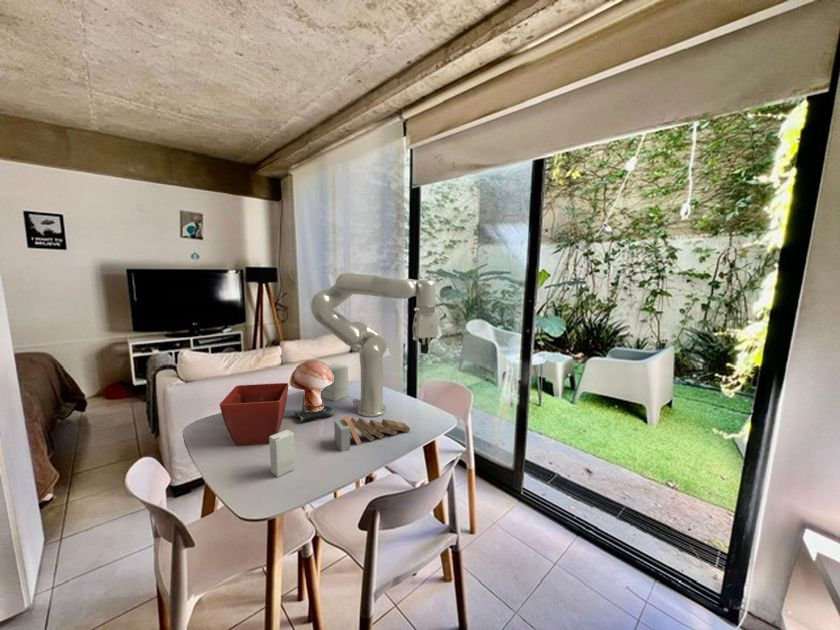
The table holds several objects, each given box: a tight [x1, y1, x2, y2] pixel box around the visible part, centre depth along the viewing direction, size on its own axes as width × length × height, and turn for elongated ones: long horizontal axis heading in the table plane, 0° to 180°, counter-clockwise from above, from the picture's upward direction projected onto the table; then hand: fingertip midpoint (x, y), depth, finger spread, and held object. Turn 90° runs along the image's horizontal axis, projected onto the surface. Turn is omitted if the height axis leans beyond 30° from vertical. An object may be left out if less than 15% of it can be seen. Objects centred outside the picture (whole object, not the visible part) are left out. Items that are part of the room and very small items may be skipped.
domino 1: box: [350, 417, 375, 443], centre depth 125 cm, size 2×5×10 cm
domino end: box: [342, 414, 362, 446], centre depth 123 cm, size 2×5×10 cm, turn 30°
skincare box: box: [269, 429, 296, 478], centre depth 106 cm, size 6×4×12 cm
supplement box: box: [321, 362, 349, 402], centre depth 165 cm, size 9×9×15 cm
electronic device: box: [294, 405, 335, 424], centre depth 144 cm, size 9×6×15 cm
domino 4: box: [381, 418, 411, 433], centre depth 132 cm, size 2×5×10 cm
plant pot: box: [219, 382, 289, 447], centre depth 126 cm, size 19×19×17 cm
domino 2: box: [356, 417, 385, 440], centre depth 127 cm, size 2×5×10 cm
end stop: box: [333, 418, 351, 453], centre depth 122 cm, size 3×8×8 cm, turn 30°
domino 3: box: [368, 419, 399, 436], centre depth 130 cm, size 2×5×10 cm
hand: (424, 352), depth 145 cm, fingers closed
